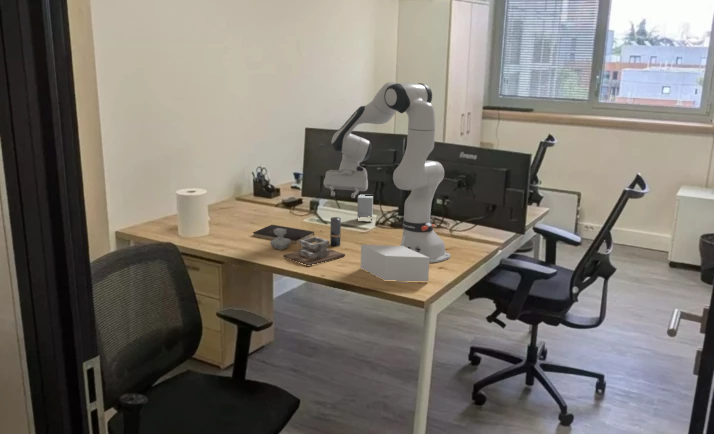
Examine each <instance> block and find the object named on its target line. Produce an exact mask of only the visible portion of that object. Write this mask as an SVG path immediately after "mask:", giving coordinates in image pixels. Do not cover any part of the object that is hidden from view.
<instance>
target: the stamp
mask: <svg viewBox="0 0 714 434" xmlns="http://www.w3.org/2000/svg"><path fill="white" fill-rule="evenodd" d="M274 233H275V235H277V236H278V238H275V239H270V242H269V244H270V246H271V247H272V248H273V249H276V248H277V249H278V250H284V249H286V248H288V247H289V245H290V244H292V243H291V240H290V239H287V238H284V237H283V236H284V235H285V234H286V229H281V228H277V229H275V230H274ZM277 249H276V250H277Z"/></svg>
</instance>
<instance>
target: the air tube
mask: <svg viewBox="0 0 714 434" xmlns="http://www.w3.org/2000/svg"><path fill="white" fill-rule="evenodd" d="M341 221H342V218H341V217H337V216H335V217H331V218H330V233H329V237H330V239H329V246H330V247H340V246H341V236H342V235H341V226H342V225H341V223H342V222H341Z"/></svg>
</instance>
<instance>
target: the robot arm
mask: <svg viewBox="0 0 714 434" xmlns="http://www.w3.org/2000/svg"><path fill="white" fill-rule="evenodd" d="M432 101H433V92H432V89H431V87H430V86H429V85H427V84H424V83H423V82H422V83H420V82H419V83H415V82H401V83H396V82H394V81H393V82H392V81H388V82H386V83H385V84H383V86H382V87H381V88H380V89H379V90H378V91H377V93H376V95H374V97H373V99H372V100H371V101H370V102H369V103H367V104H366V105H360V106H359V107H358V108H357V109H356V110H355V111H354V112H353V113H352V115H350V117H349V118H348V119H347V120H346V121H345V123H344V124H343V125H342V126H341V127H340V128H338V130H336V132H335V133H334V134H333V136H332V137H331V142H330V144H331V147H332V149H333V150H334V151H335V152H336V153H338V152H339V153H342V159H341V161H340V164H339V168H338V169H329V170H327V171H326V172H325V174H324V175H325V177H324V179H323V186H324V188H326V189H329V190H330V191H331V192H330V196H331V197H335V195H336V192H335V191H334V190H345V191H347V190H348V191H354V192H351V195H350V197H351V198H352V199H355V198H356V196H357V195H359V192H366V191H367V190H368V187H369V181H368V180H369V179H368V171H367V169H366V168H365V167H362V166H360V163H362V162H365V161H366V160H368V159H369V158H370V156H371V153H372V147H373V146H372V143H371V141H370V140H368V139H366V138H364V137H361V136H358V135H356V134H353V133H352V132H353V131H354V130H355V128H356V127H358V125H363V124H373V125H383V124H387V123H388V122H390V120H391V119H392V118H393V117H394V115H395V114H396V112H398V113H400V114H403V113H406V114H407V117H408V124H407V125H408V126H407V139H406V149H405V150H404V155H403V157H402V159H401V161H400V163H399V165H397V166H396V168H395V169H394V171H393V173H392V180H393V183H394V186H396V188H397V189H399V190H404V191H411V192H410V194H409V196H408V197H406V199H405V202H404V208H403V209H404V211H403V212H404V213H403V214H404V215H403V219H402V237H401V241H400V245H399V246H404V247H406V248H408V249H411V250H413V251H415V252H418V253H420V254H422V255H425V256H427V257H429V264H430V263H431V264H432V263H439V262H443V261H446V260H449V258H451V254H450V253H449V252H446V245H445V242H444V240H442V238H441V237H440V236H439V234H437V232H435V231H434V227H436V226H435V225H436V223H433V224H432V220H431V213H432V211H431V209H432V204H433V203H432V202H433V199H434V196H435V192H436V191H437V189H438V187H439V184H441V182H442V181H443V180H444V177H445V169H444V166H443V165H442V163H440V162H439V161H436V160H427V159H428V157H429V156H430V154H431V153H432V152H433V150H434V149H435V135H436V113H435V107H434V106H433V104H432Z"/></svg>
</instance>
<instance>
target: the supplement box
mask: <svg viewBox="0 0 714 434" xmlns="http://www.w3.org/2000/svg"><path fill="white" fill-rule="evenodd" d="M365 195H366V194H360V195H359V194H358V196H357V218H358V217H359V218H360V217H368V216H370V217H372V215H373V212H374V208H373V207H374V195H373V196H365Z"/></svg>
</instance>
